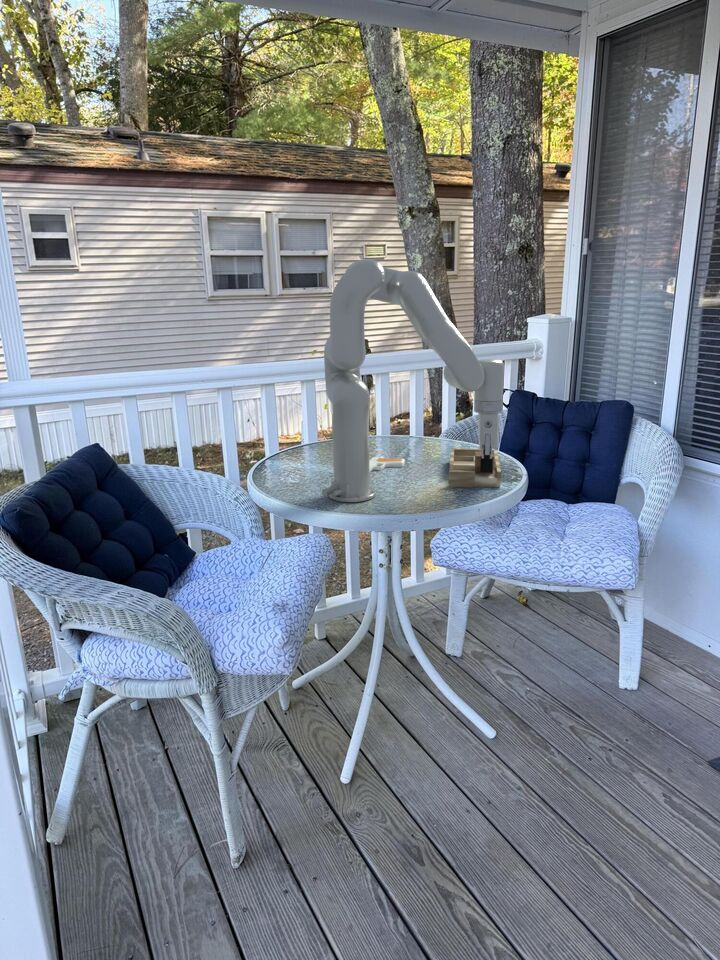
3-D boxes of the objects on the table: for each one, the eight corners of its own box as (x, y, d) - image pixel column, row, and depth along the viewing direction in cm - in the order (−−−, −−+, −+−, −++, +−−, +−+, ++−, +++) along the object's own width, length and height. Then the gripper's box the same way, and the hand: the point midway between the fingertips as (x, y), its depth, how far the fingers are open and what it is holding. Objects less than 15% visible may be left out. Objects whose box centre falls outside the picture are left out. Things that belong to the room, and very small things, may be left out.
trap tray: (500, 488, 174) (501, 473, 173) (448, 486, 176) (449, 471, 175) (496, 462, 198) (496, 449, 197) (450, 461, 201) (451, 448, 199)
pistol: (387, 482, 183) (351, 478, 187) (407, 464, 201) (374, 461, 205) (387, 474, 182) (350, 471, 186) (407, 456, 200) (374, 453, 204)
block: (493, 473, 178) (493, 456, 177) (475, 473, 179) (475, 456, 178) (491, 468, 183) (492, 452, 182) (474, 468, 184) (474, 451, 182)
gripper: (503, 411, 163) (501, 480, 168) (501, 401, 177) (499, 464, 182) (474, 411, 164) (472, 479, 170) (474, 401, 178) (472, 464, 184)
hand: (486, 471), depth 176 cm, fingers closed
